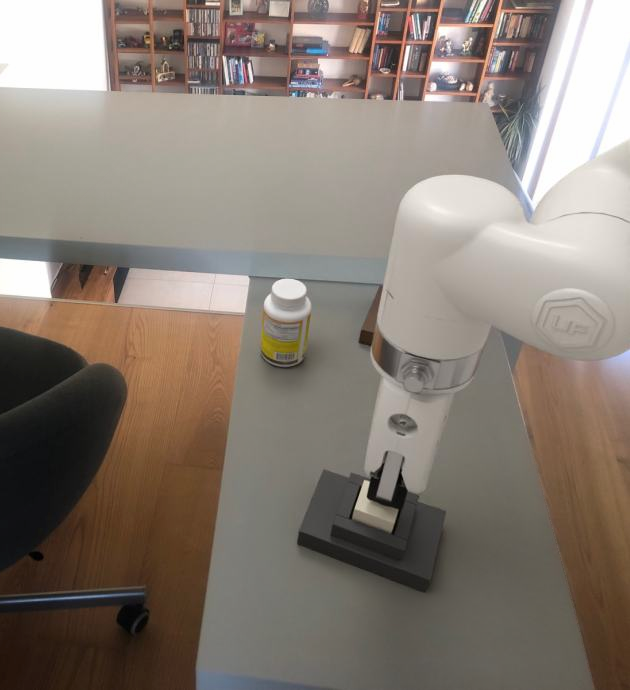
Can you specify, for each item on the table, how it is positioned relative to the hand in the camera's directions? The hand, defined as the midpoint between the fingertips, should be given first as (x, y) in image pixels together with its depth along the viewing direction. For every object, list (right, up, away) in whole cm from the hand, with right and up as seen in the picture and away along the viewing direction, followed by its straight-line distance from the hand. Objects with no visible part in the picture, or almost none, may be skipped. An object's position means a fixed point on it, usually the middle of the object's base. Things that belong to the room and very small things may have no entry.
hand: (385, 497), depth 62 cm
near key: (0, -2, +2) cm, 3 cm away
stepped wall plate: (0, -4, +4) cm, 6 cm away
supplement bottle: (-6, +12, +24) cm, 27 cm away
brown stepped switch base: (+12, +15, +26) cm, 33 cm away
